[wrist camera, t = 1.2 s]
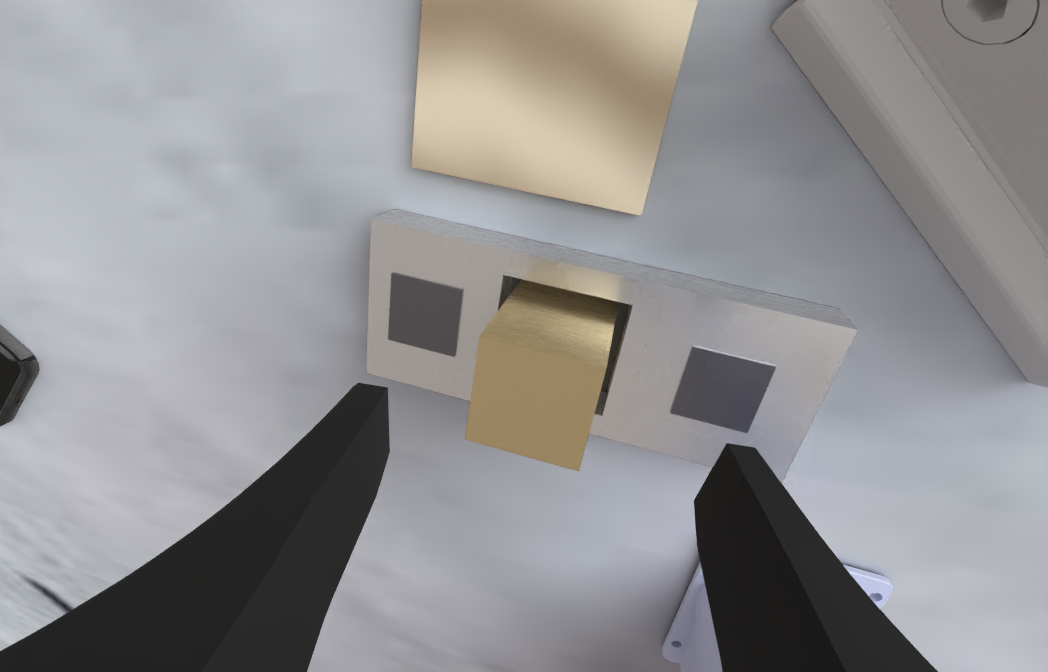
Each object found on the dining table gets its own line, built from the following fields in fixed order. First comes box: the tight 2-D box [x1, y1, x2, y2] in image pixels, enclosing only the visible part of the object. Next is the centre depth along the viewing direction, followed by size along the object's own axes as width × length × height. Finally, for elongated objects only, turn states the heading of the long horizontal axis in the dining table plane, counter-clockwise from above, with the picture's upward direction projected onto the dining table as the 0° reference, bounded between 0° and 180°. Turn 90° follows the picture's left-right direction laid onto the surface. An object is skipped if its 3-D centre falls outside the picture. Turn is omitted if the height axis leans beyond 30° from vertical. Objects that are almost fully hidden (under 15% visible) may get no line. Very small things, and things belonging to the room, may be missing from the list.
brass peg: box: [465, 279, 619, 471], centre depth 20 cm, size 4×4×6 cm
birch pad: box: [411, 0, 698, 216], centre depth 18 cm, size 9×9×1 cm
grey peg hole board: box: [366, 209, 858, 483], centre depth 21 cm, size 7×18×2 cm, turn 81°
